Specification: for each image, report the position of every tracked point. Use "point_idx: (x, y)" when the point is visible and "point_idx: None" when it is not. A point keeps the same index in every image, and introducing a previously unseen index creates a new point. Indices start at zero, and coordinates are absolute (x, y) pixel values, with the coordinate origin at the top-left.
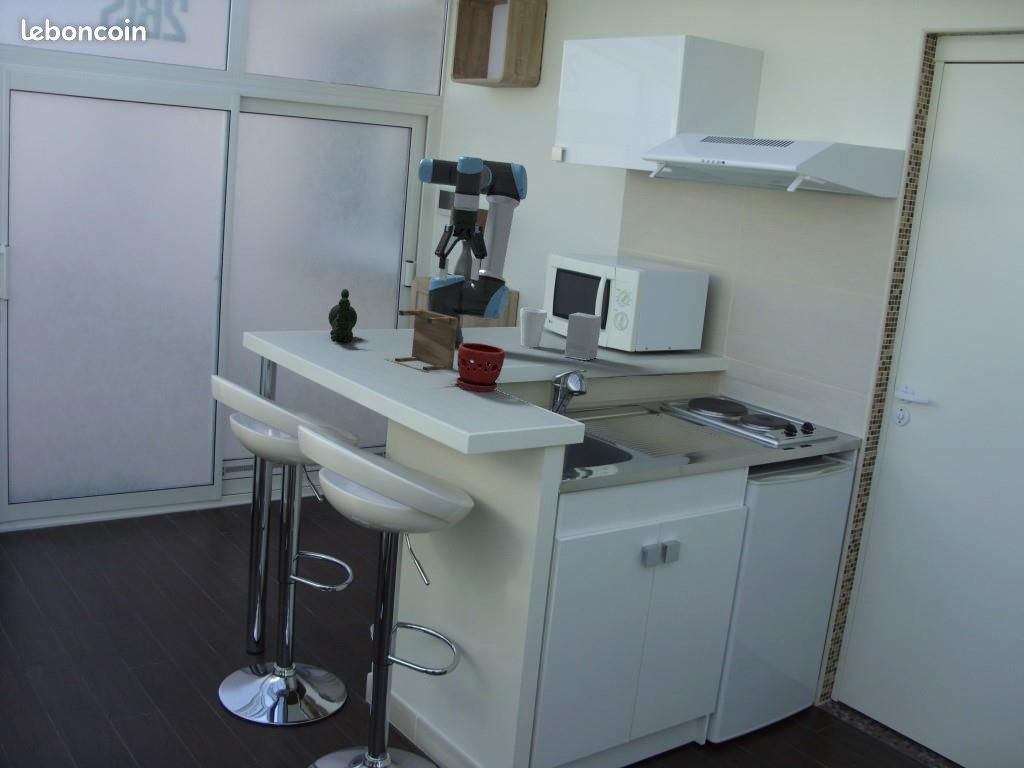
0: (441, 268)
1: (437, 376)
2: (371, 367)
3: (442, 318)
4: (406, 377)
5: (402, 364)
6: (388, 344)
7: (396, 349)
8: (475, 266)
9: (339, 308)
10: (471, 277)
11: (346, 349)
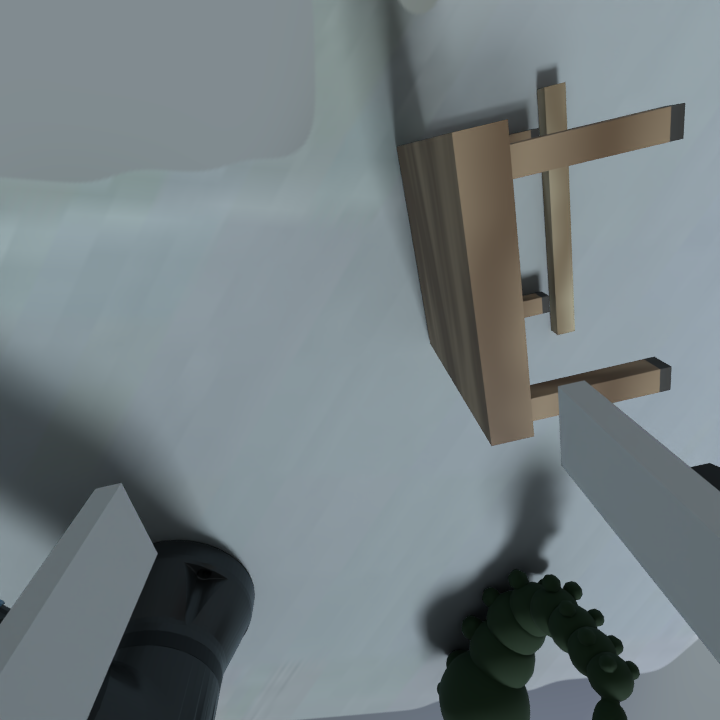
0: (714, 476)
1: (510, 70)
2: (661, 255)
3: (576, 128)
4: (651, 68)
5: (569, 231)
6: (381, 567)
7: (396, 507)
8: (64, 646)
9: (617, 654)
10: (147, 558)
11: (560, 503)
